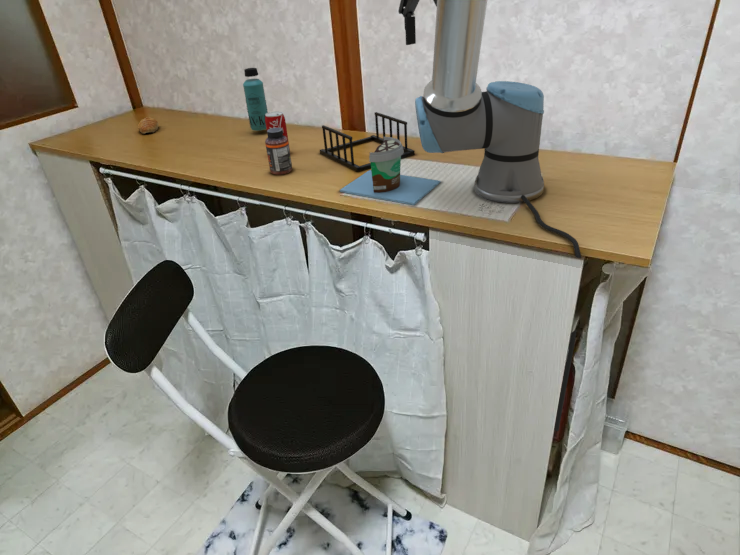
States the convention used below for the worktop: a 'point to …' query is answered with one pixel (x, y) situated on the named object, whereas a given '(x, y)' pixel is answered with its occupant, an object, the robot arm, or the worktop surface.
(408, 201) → the drying mat
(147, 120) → the pastry
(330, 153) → the dish rack
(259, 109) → the beverage bottle
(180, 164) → the worktop surface
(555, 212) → the worktop surface
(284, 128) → the soda can
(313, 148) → the worktop surface
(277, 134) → the supplement bottle
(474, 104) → the robot arm
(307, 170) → the worktop surface
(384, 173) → the food container
